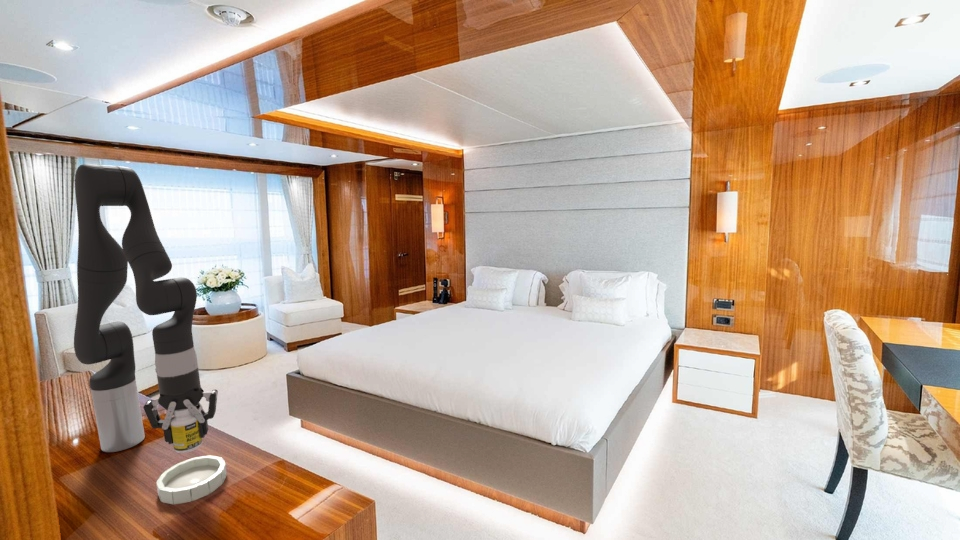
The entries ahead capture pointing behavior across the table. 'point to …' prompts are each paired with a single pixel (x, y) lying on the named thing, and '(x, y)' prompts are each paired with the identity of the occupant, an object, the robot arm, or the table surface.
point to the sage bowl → (191, 479)
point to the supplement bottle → (185, 431)
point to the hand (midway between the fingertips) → (187, 438)
